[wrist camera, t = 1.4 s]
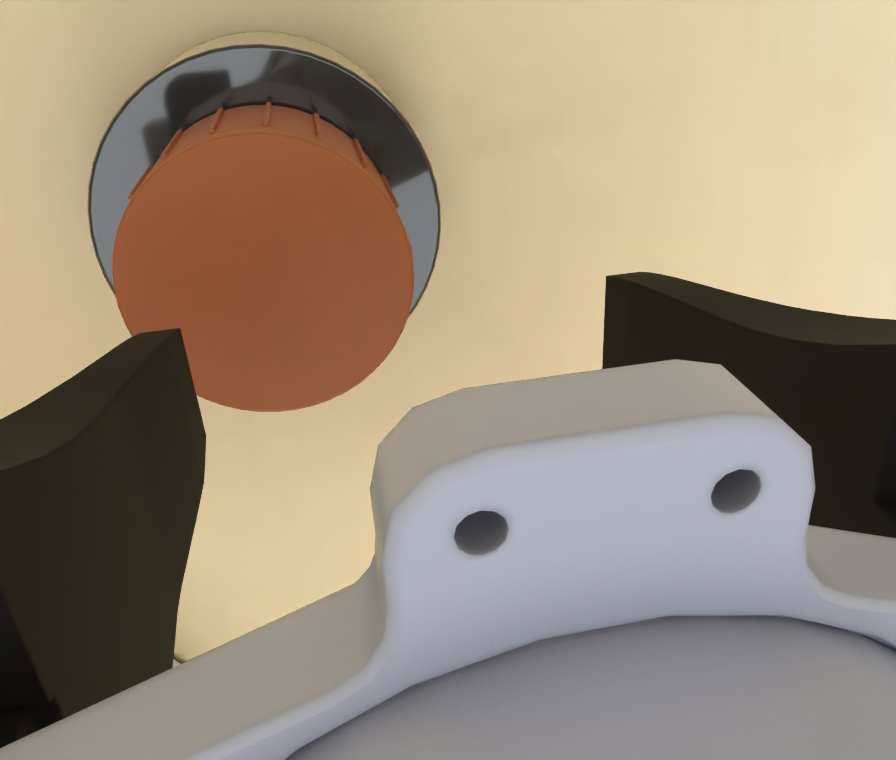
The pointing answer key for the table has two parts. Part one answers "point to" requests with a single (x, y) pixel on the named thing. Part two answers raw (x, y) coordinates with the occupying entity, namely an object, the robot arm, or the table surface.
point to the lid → (266, 258)
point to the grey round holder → (254, 83)
